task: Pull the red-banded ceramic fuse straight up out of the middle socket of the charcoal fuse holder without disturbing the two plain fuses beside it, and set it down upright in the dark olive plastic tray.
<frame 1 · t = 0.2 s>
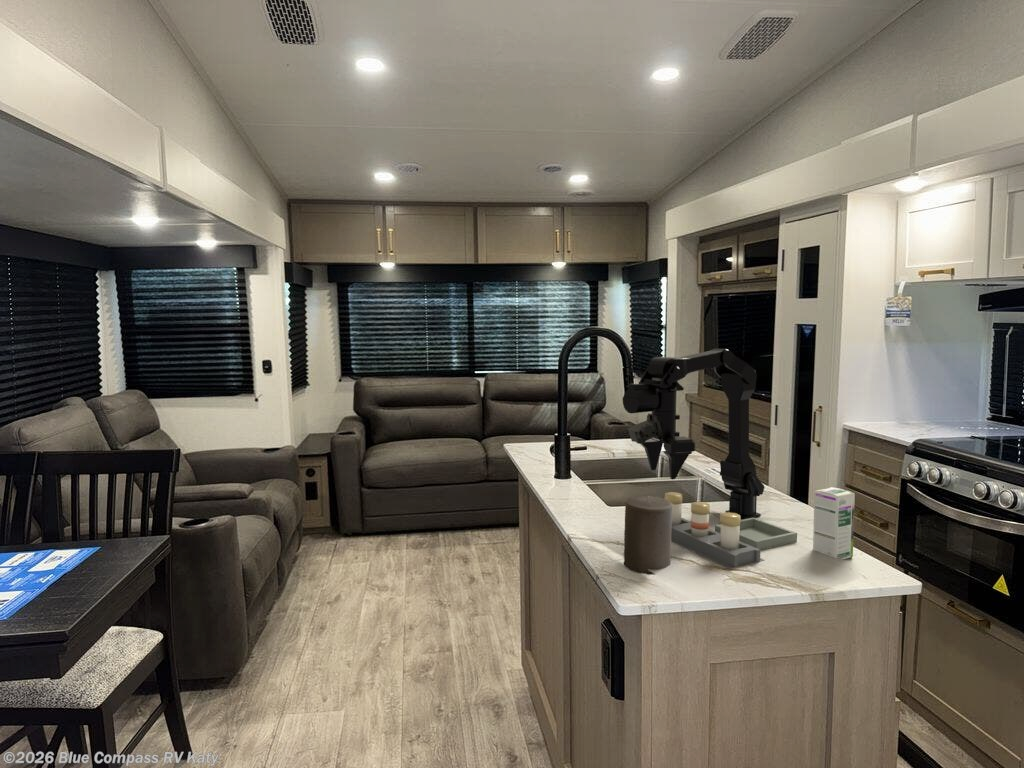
hand: (662, 474, 150), 14 cm above the countertop, tool pointing down, fingers open, 9 cm apart
syrup box: (832, 556, 136), on the countertop
pillar candle: (647, 566, 132), on the countertop
fuse 2: (729, 556, 134), point 1 cm above the countertop, touching fuse holder
fuse holder: (699, 547, 142), on the countertop
fuse 1: (672, 531, 150), point 1 cm above the countertop, touching fuse holder
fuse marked: (699, 543, 142), point 1 cm above the countertop, touching fuse holder
tray: (754, 541, 145), on the countertop
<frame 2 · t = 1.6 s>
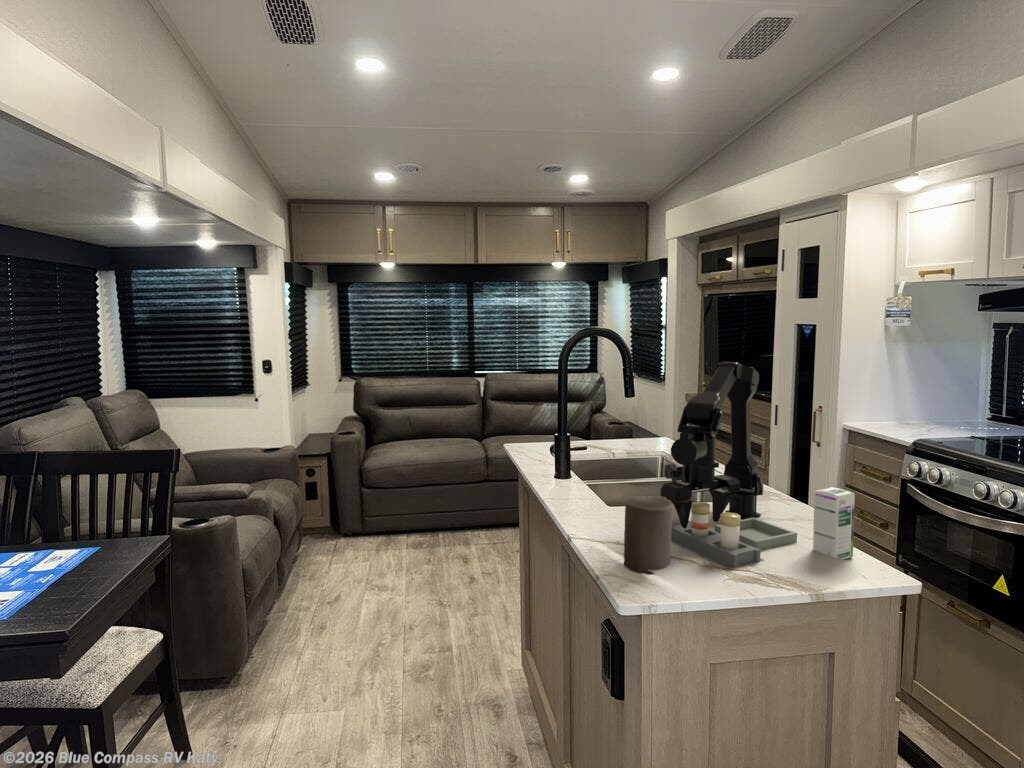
hand: (700, 524, 141), 5 cm above the countertop, tool pointing down, fingers open, 9 cm apart
nothing on the countertop moved.
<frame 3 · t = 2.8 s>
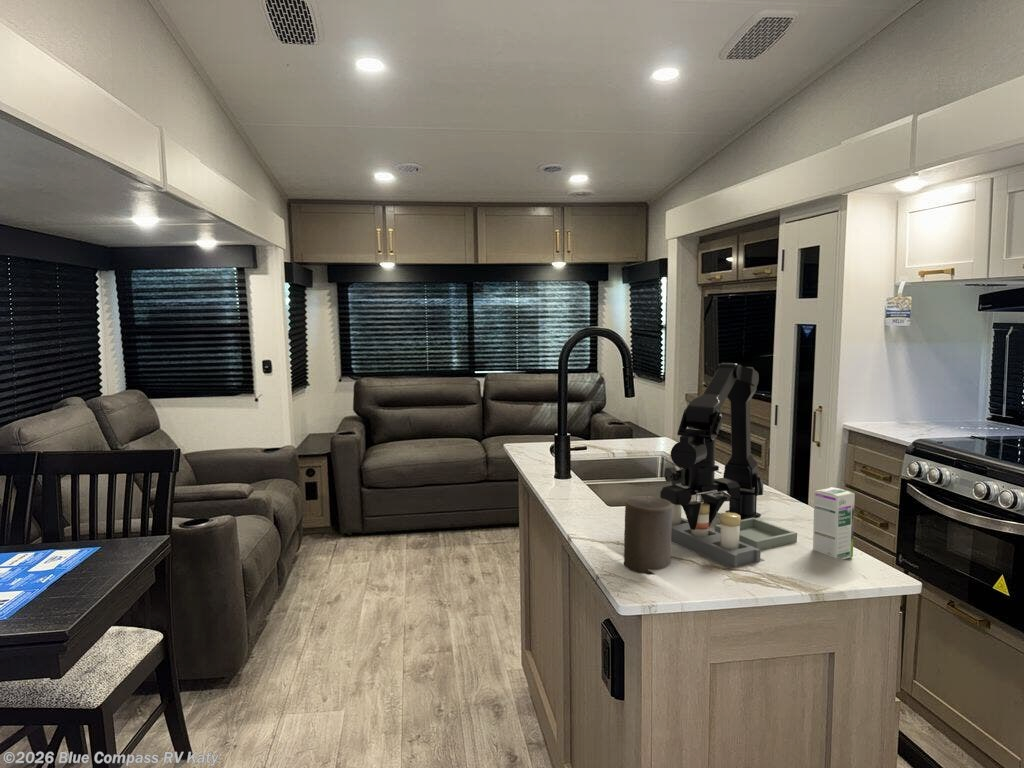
hand: (699, 527, 141), 5 cm above the countertop, tool pointing down, fingers closed on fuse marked, 4 cm apart
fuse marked: (699, 543, 142), point 1 cm above the countertop, touching fuse holder, gripper
everything else where it was.
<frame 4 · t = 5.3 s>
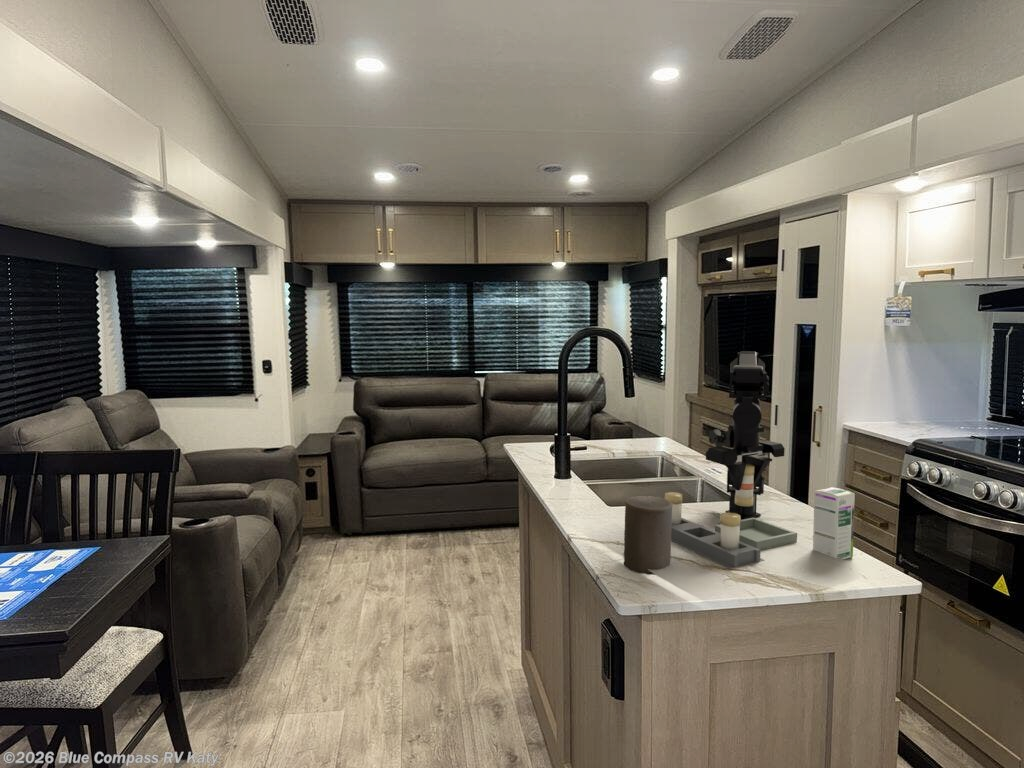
hand: (744, 488, 143), 13 cm above the countertop, tool pointing down, fingers closed on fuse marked, 4 cm apart
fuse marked: (743, 503, 144), point 9 cm above the countertop, touching gripper
everything else where it was.
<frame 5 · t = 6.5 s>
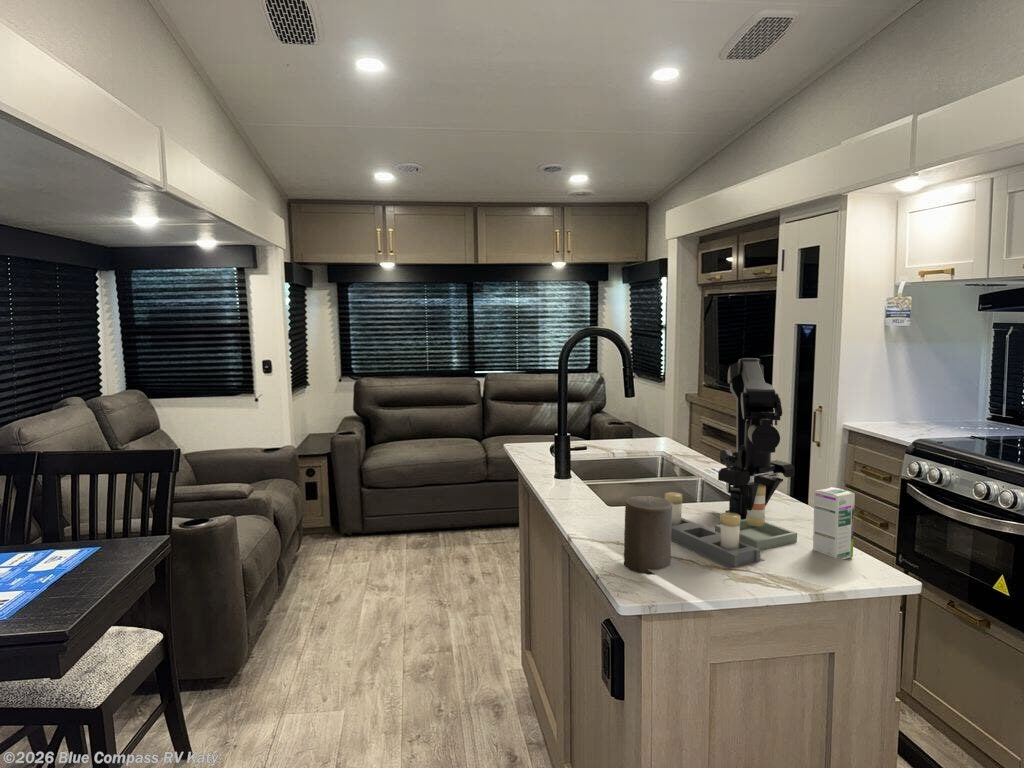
hand: (755, 508, 144), 8 cm above the countertop, tool pointing down, fingers closed on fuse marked, 4 cm apart
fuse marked: (755, 523, 145), point 4 cm above the countertop, touching gripper
everything else where it was.
when the fingers open (6 cm above the countertop, at t = 7.6 s): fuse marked drops 1 cm, resting on tray.
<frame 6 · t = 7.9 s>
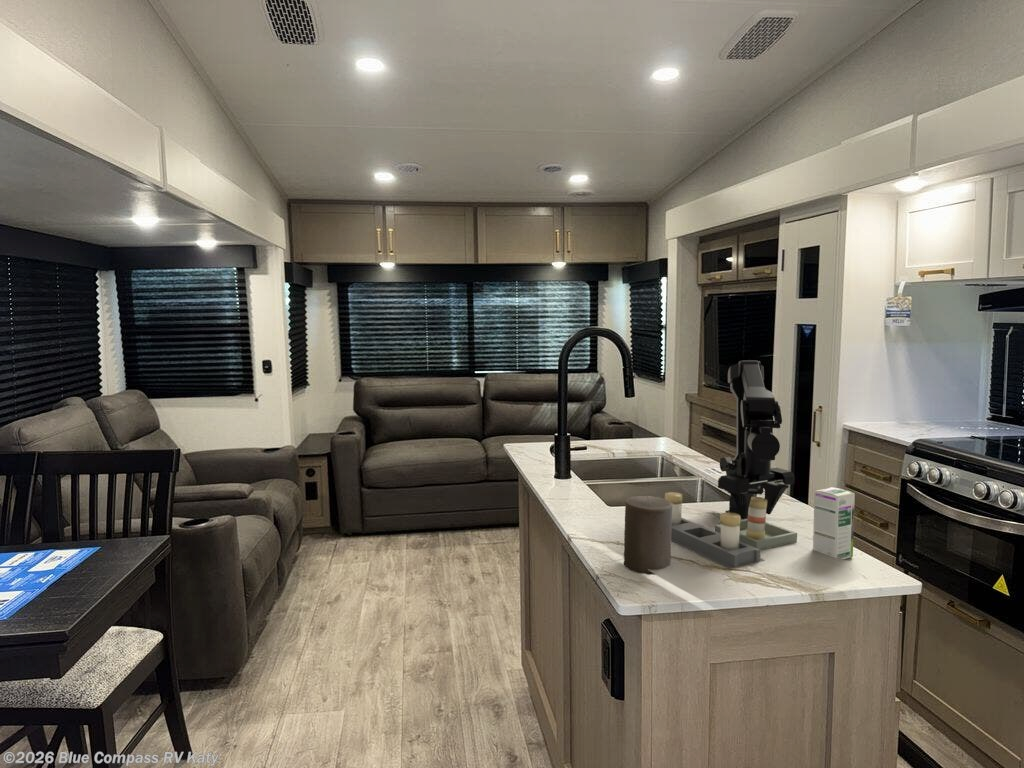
hand: (755, 516, 145), 6 cm above the countertop, tool pointing down, fingers open, 8 cm apart
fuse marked: (755, 537, 145), point 1 cm above the countertop, touching tray
everything else where it was.
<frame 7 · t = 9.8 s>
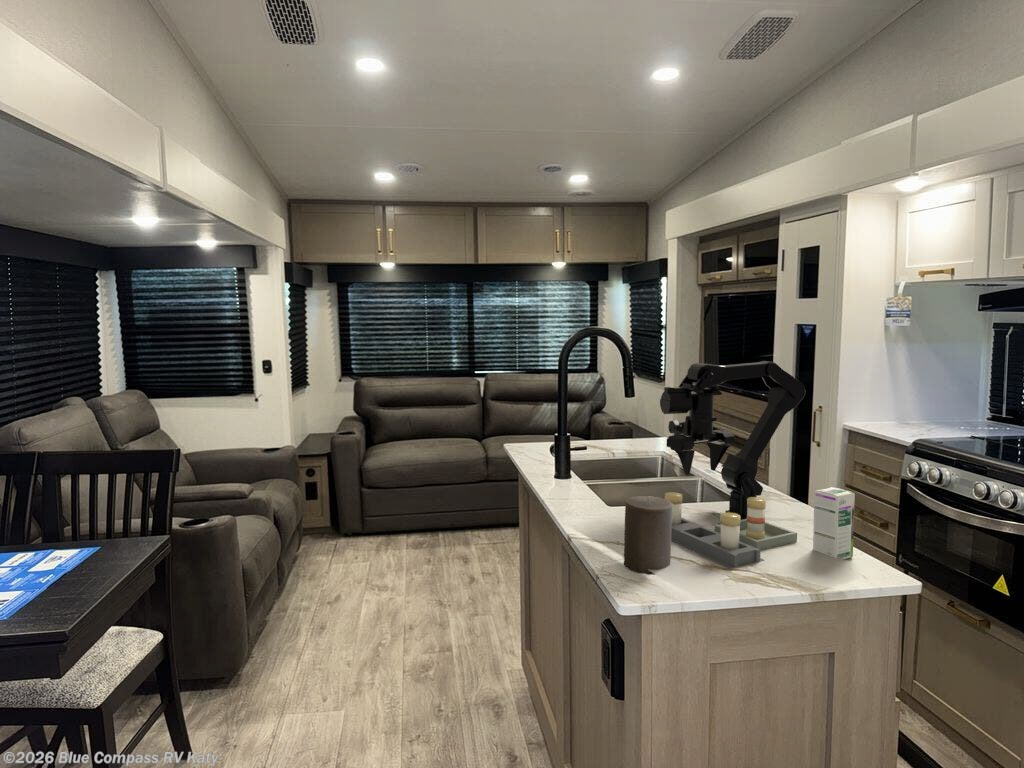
hand: (700, 472, 161), 12 cm above the countertop, tool pointing down, fingers open, 9 cm apart
nothing on the countertop moved.
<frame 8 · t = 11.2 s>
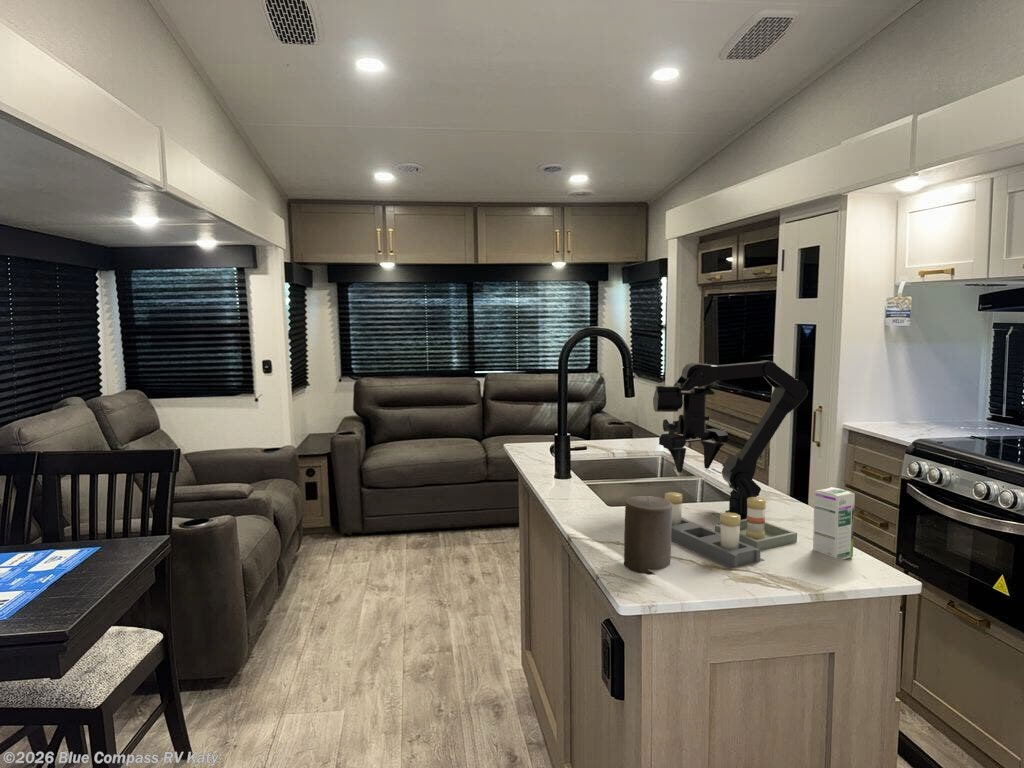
hand: (693, 470, 164), 12 cm above the countertop, tool pointing down, fingers open, 9 cm apart
nothing on the countertop moved.
at the end: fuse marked inside the target area on the tray (0.0 cm from its centre), point 1.0 cm above the tray's base; fuse 1 moved 0.0 cm from its start; fuse 2 moved 0.0 cm from its start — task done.
